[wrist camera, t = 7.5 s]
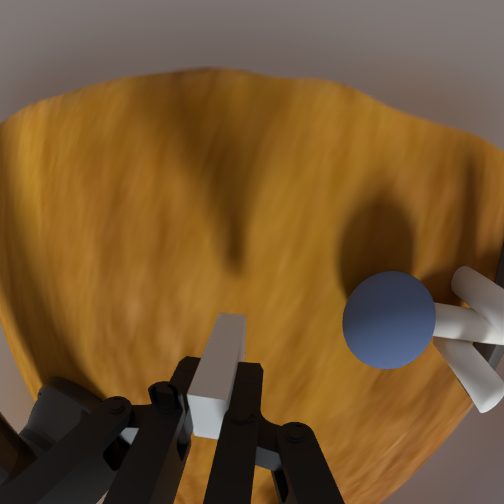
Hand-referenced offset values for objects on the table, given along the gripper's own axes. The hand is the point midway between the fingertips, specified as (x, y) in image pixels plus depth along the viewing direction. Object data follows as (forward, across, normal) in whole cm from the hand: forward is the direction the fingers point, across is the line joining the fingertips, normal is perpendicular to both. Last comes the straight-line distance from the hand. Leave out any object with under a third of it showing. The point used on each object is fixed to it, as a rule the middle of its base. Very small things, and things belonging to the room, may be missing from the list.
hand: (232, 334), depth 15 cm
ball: (+1, -9, -1) cm, 9 cm away
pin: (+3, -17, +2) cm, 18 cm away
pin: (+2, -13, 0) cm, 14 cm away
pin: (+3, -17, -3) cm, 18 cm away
